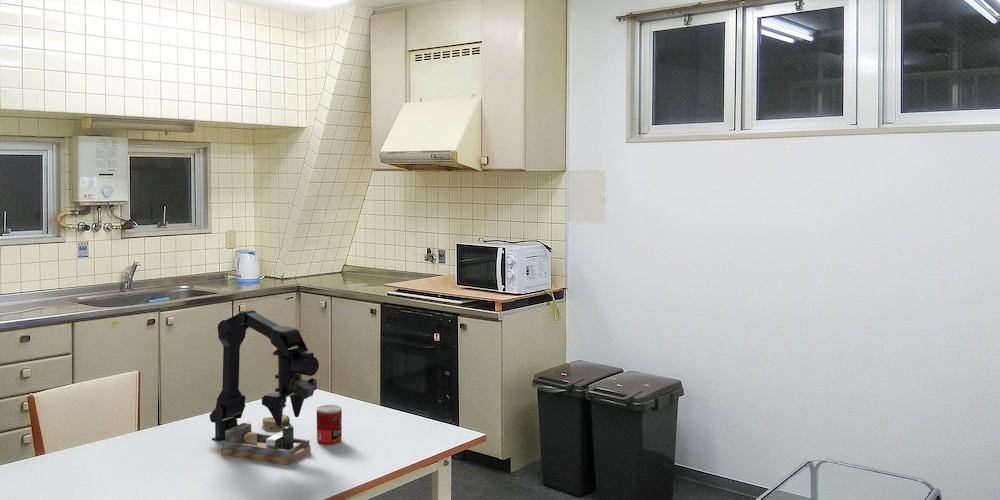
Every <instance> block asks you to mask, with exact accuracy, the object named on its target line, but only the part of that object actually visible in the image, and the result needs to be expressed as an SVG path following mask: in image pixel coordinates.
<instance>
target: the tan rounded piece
mask: <svg viewBox="0 0 1000 500" xmlns="http://www.w3.org/2000/svg"><path fill="white" fill-rule="evenodd" d="M244 442H245V444H250V445H257V435H256V434H255V433H254V431H251V432H249V433H247V434H246V435H245V436H244Z"/></svg>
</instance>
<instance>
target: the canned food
mask: <svg viewBox="0 0 1000 500" xmlns="http://www.w3.org/2000/svg"><path fill="white" fill-rule="evenodd" d="M342 413H343V412H342V407H341V406H339V405H336V404H324V405H320V406H317V408H316V440H317V443H319V445H323V446H331V445H332V446H334V445H337V444H340V443H341V442H342V439H343V438H342V435H343V434H342V428H343V427H342V425H343V424H342V422H343V421H342V420H343V419H342Z"/></svg>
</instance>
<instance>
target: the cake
mask: <svg viewBox="0 0 1000 500" xmlns="http://www.w3.org/2000/svg"><path fill="white" fill-rule="evenodd" d="M290 420H291V418H290V417H289V415H286V414H284V413H283V414H282V424H281V426H278V425H277V424H276V422H275V420H274V418H273V416H272V417H270V416H264V417H263V418H262V425H261V426H260V429H261V430H263V431H267V432H281V431H283V427H284V426H292V424H291V423H290Z"/></svg>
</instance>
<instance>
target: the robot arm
mask: <svg viewBox="0 0 1000 500" xmlns="http://www.w3.org/2000/svg"><path fill="white" fill-rule="evenodd" d="M249 328H250V329H252V330H254V331H256V332H257V333H259V334H261V335H263V336H265V337H266V338H268V339H269V341H270V343H271V345H272V346H273V347H274V348H276V350H274V351H273V352H272V355H274V356H277V372H278V373H277V374H274V375H275V376H274V378H275V379H277V387H275V389H274V390H275V391H274V392H269V393H267V394H265V395H263V396H262V398H261V405H262V406H264V407H265V408H267V410H268V411H269V412H270V414H271V416H272V417H273V418H274V420H275V422H276V424H277V425H278V426H281V424H282V414H284V413H283V412H284V409H285V408H286V407H287V398H289V399H290V403H291V407H292V411H293V415H294V417H295V418H299V416H300V414H301V410H302V407H303V404H304V401H305V400H307V399H308V398H310V397H313V396H314V393H315V391H317V390H318V382H317V379H316V378H314V377H312V376H314V375H316V374H317V372H318V371H319V368H320V365H319V364H320V362H319V360H318V358H317V357H316V356H314V354H315V353H314V352H311V351H310V352H308V351H309V349H308V347H307V344H306V343H305V341H304V339H303V337H302V335H301V334H300V331H299V330H298V329H297V328H294V327H291V326H285V325H279V324H277V323H276V322H273V321H272V320H270V319H268V318H266V317H265V316H262V315H261V314H259V313H257V311H256V310H253V309H249V310H243V311H242V310H241V311H240V312H238V313H237V314H235V315H233V316H230V317H229V318H227V319H222V320H221V321H220V322H219V323H218V324H217V335H218V340H219V341H220V343H221V345H222V347H223V349H222V350H223V351H222V352H223V353H222V358H223V359H222V384H221V386H222V389H221V392H220V393H219V394H218V397H217V399H216V403H215V404H216V405H215V408H214V409H213V410H212V411H211V413H210V414H209V419H210V420H209V421H210V422H211V423H214V425H215V427H214V430H215V431H214V432H215V434H214V435H215V436H214V437H212V438H211V440H212V441H216V442H222V441H225V431H227V430H229V429H231V428H233V427H235V426H237V425H239V424H238V419H242V417H243V413H244V410H245V408H246V395H244V394H242V392H241V391H240V360H241V359H240V356H241V355H240V353H241V351H240V350H241V345H242V344H243V342H244V340H245V338H246V334H247V333H246V332H247V330H248V329H249ZM302 375H303V376H306V377H311V378H309V379H308V380H307V379H303V378H302Z"/></svg>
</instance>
